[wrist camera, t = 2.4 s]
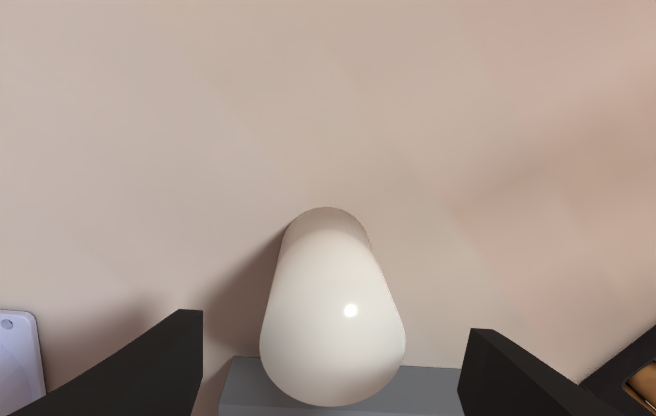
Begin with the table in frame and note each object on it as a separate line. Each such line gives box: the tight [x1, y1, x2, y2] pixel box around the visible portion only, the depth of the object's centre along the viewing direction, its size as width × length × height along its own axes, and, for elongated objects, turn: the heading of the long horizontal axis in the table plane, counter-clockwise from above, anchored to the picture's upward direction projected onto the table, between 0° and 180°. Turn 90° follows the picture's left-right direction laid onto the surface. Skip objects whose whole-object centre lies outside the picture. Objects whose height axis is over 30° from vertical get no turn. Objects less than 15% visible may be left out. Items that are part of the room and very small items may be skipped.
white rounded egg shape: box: [259, 207, 406, 407], centre depth 13 cm, size 4×4×7 cm
